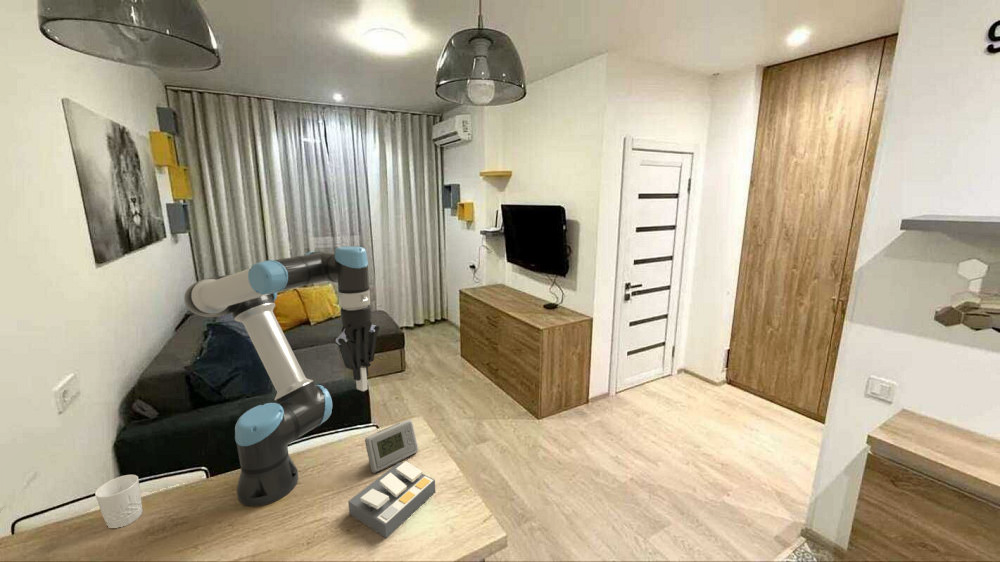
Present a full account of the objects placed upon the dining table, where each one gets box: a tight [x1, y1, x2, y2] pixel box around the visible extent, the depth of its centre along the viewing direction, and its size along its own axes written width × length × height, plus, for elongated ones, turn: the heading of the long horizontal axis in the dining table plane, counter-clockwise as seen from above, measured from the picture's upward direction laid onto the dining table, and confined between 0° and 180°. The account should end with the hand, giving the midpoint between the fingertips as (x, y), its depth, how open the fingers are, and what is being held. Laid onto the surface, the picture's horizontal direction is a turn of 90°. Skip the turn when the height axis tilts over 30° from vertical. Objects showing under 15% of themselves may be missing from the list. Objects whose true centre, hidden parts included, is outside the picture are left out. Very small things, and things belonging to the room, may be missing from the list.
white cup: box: [94, 474, 144, 529], centre depth 99 cm, size 8×8×10 cm
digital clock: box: [364, 418, 419, 474], centre depth 122 cm, size 16×9×11 cm, turn 121°
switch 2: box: [379, 472, 407, 497], centre depth 105 cm, size 6×4×2 cm, turn 58°
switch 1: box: [361, 489, 389, 509], centre depth 100 cm, size 6×4×2 cm, turn 58°
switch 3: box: [396, 460, 423, 482], centre depth 110 cm, size 6×4×2 cm, turn 58°
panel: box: [347, 461, 436, 539], centre depth 105 cm, size 14×18×5 cm
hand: (362, 389), depth 106 cm, fingers closed
